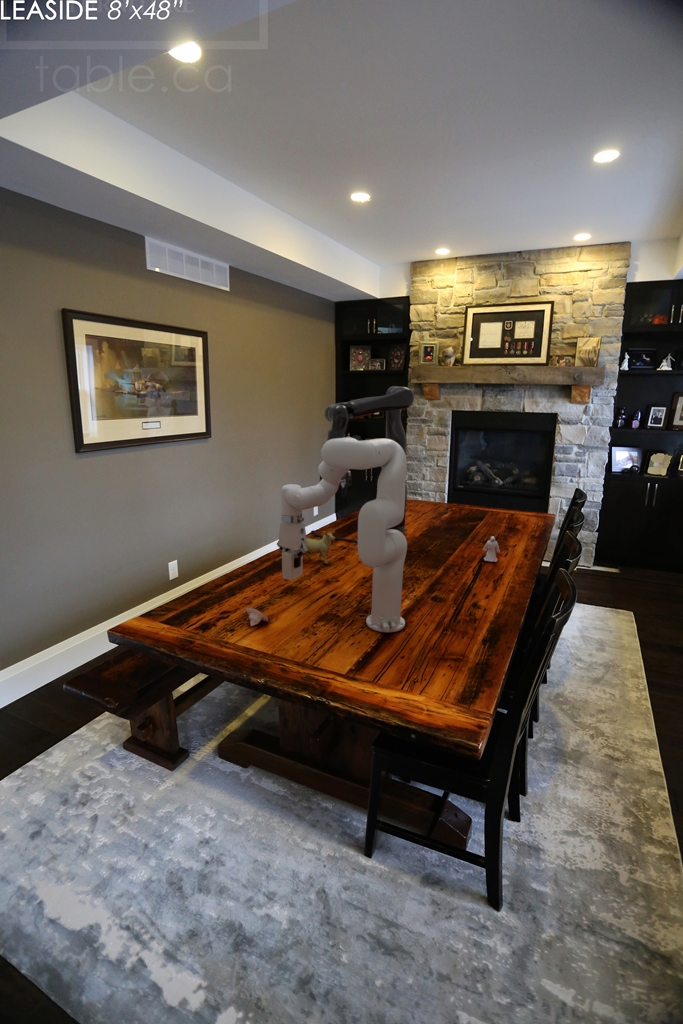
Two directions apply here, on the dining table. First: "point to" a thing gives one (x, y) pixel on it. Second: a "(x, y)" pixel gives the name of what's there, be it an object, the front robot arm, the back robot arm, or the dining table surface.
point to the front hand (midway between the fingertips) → (292, 565)
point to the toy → (320, 546)
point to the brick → (290, 566)
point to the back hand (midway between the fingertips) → (335, 495)
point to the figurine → (491, 550)
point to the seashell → (255, 616)
